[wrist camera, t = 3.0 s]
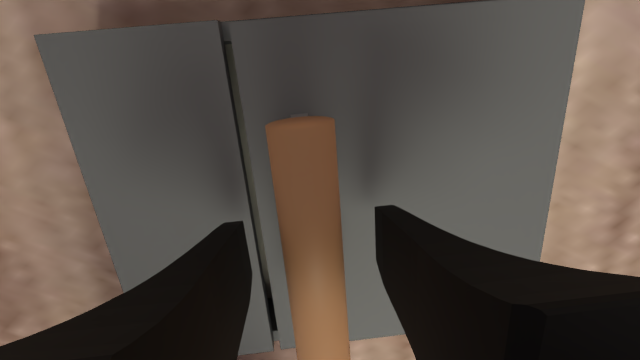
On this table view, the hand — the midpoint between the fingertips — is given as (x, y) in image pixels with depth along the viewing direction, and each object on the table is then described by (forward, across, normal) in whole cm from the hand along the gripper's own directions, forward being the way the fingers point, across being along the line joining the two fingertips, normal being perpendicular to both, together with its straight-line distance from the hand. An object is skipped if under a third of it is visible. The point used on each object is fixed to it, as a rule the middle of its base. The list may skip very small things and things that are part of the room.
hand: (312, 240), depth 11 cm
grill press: (+3, -4, 0) cm, 5 cm away
